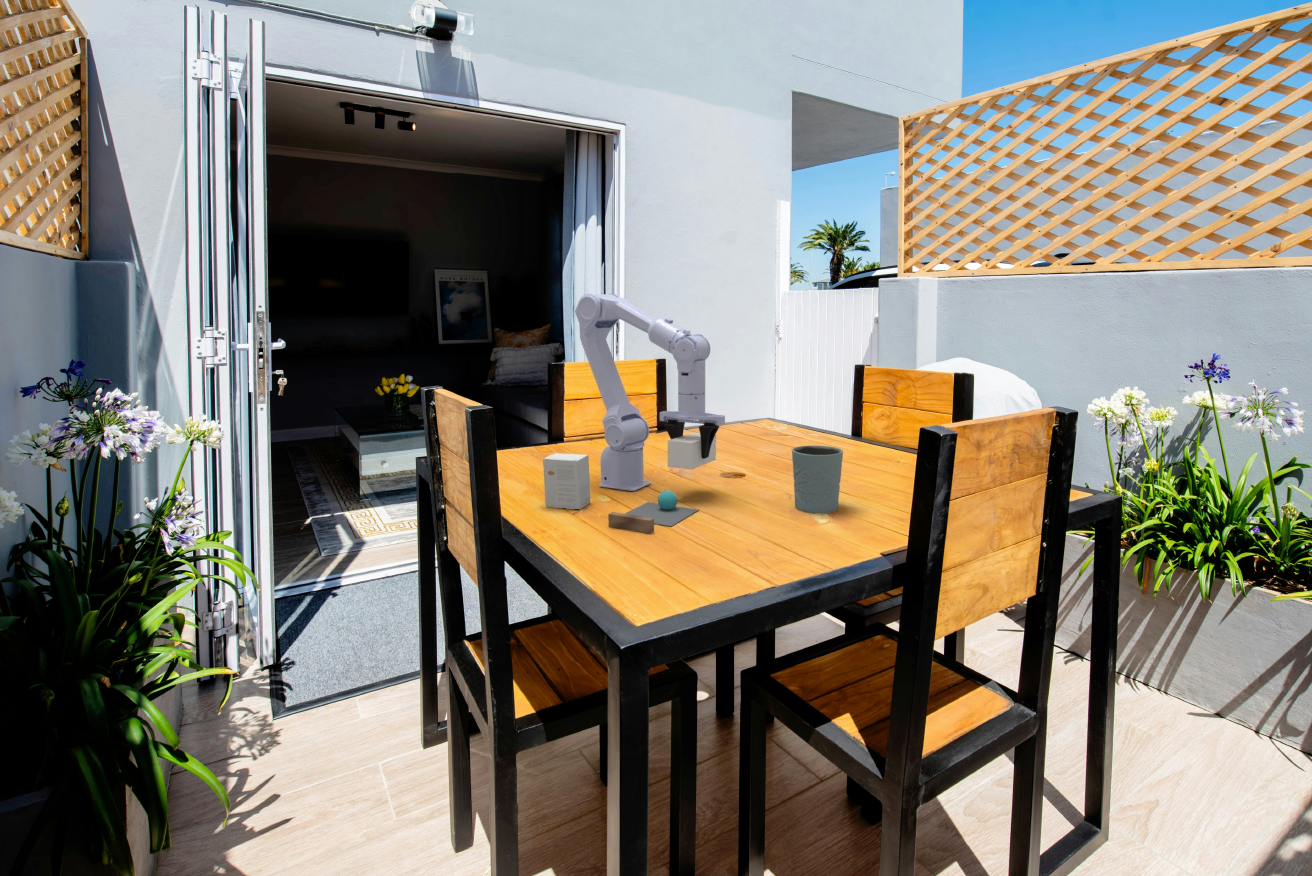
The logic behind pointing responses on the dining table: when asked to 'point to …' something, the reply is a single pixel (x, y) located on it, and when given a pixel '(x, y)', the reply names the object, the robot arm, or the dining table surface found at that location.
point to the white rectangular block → (688, 452)
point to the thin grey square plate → (662, 513)
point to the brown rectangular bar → (631, 522)
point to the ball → (667, 500)
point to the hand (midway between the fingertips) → (691, 456)
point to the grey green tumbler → (817, 478)
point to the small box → (566, 481)
